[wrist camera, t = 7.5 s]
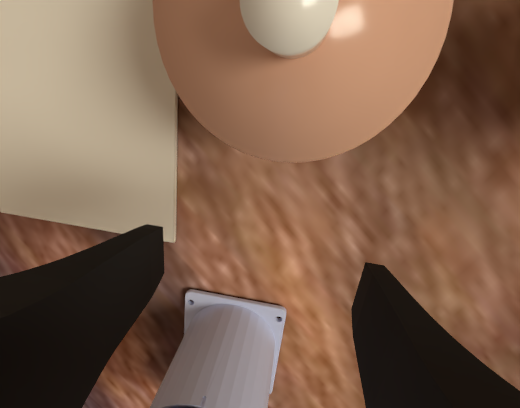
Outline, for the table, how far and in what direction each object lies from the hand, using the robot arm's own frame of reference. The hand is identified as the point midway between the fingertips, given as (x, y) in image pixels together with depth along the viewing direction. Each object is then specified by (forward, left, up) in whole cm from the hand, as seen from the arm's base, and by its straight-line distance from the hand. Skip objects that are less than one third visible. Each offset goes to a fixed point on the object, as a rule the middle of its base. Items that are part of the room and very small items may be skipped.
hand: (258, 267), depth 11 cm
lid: (+8, 0, -4) cm, 9 cm away
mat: (+2, +14, -10) cm, 18 cm away
